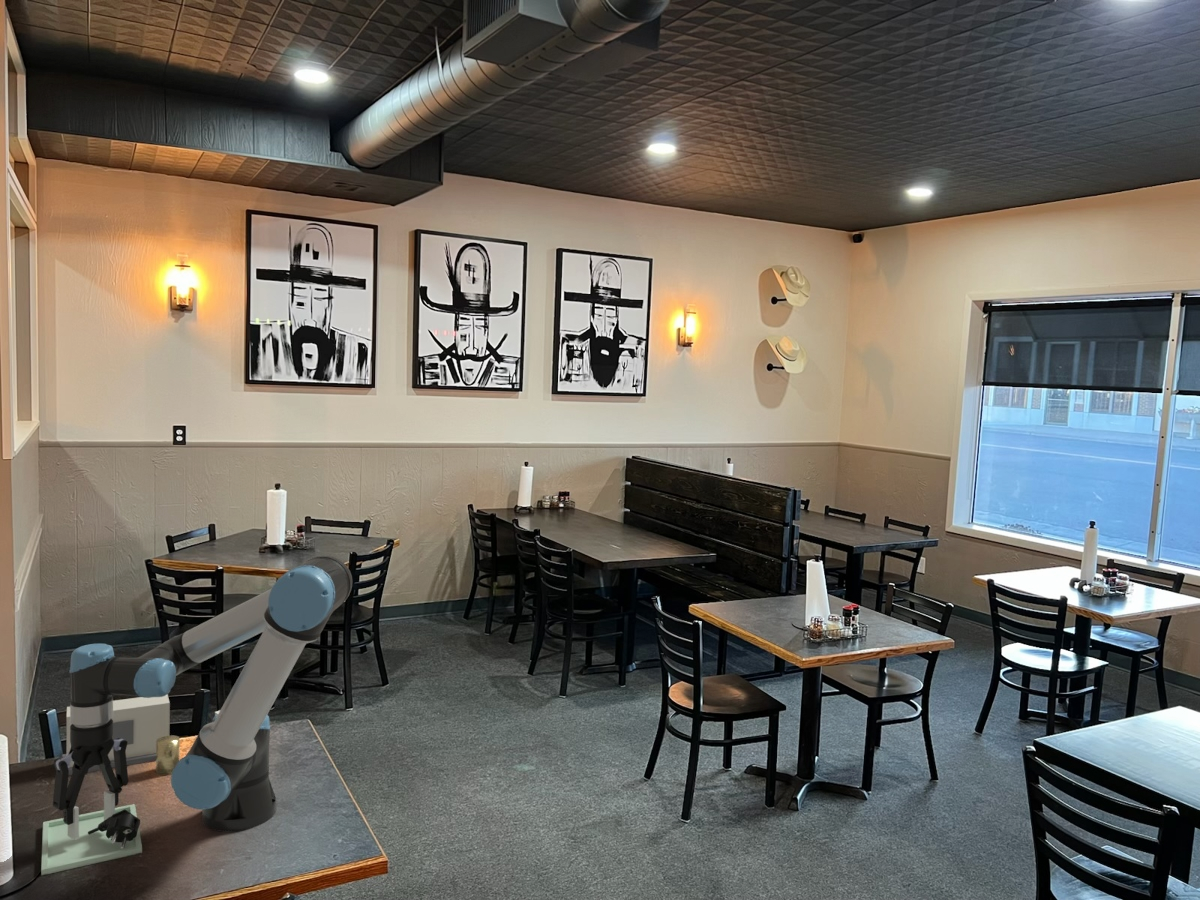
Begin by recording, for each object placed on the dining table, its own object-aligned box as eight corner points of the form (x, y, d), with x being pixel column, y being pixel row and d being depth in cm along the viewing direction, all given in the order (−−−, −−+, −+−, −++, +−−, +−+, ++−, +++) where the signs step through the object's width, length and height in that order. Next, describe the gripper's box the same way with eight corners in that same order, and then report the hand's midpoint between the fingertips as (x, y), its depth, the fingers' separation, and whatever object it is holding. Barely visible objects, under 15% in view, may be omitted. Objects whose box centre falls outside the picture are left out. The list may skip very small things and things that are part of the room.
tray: (142, 854, 171) (142, 847, 171) (41, 877, 162) (41, 869, 162) (134, 810, 188) (134, 803, 188) (43, 828, 179) (43, 821, 179)
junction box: (170, 743, 223) (171, 691, 222) (174, 758, 214) (174, 704, 213) (62, 760, 210) (62, 705, 209) (61, 777, 202) (61, 720, 201)
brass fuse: (183, 770, 208) (183, 738, 207) (164, 778, 204) (164, 745, 203) (171, 765, 211) (171, 733, 210) (151, 772, 206) (152, 740, 206)
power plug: (100, 835, 179) (149, 814, 178) (88, 869, 173) (139, 847, 172) (80, 822, 176) (130, 801, 174) (68, 857, 169) (119, 834, 168)
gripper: (128, 702, 184) (127, 805, 185) (30, 732, 167) (30, 844, 169) (148, 710, 180) (148, 815, 182) (50, 741, 163) (50, 856, 165)
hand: (91, 829), depth 175 cm, fingers open, 7 cm apart
